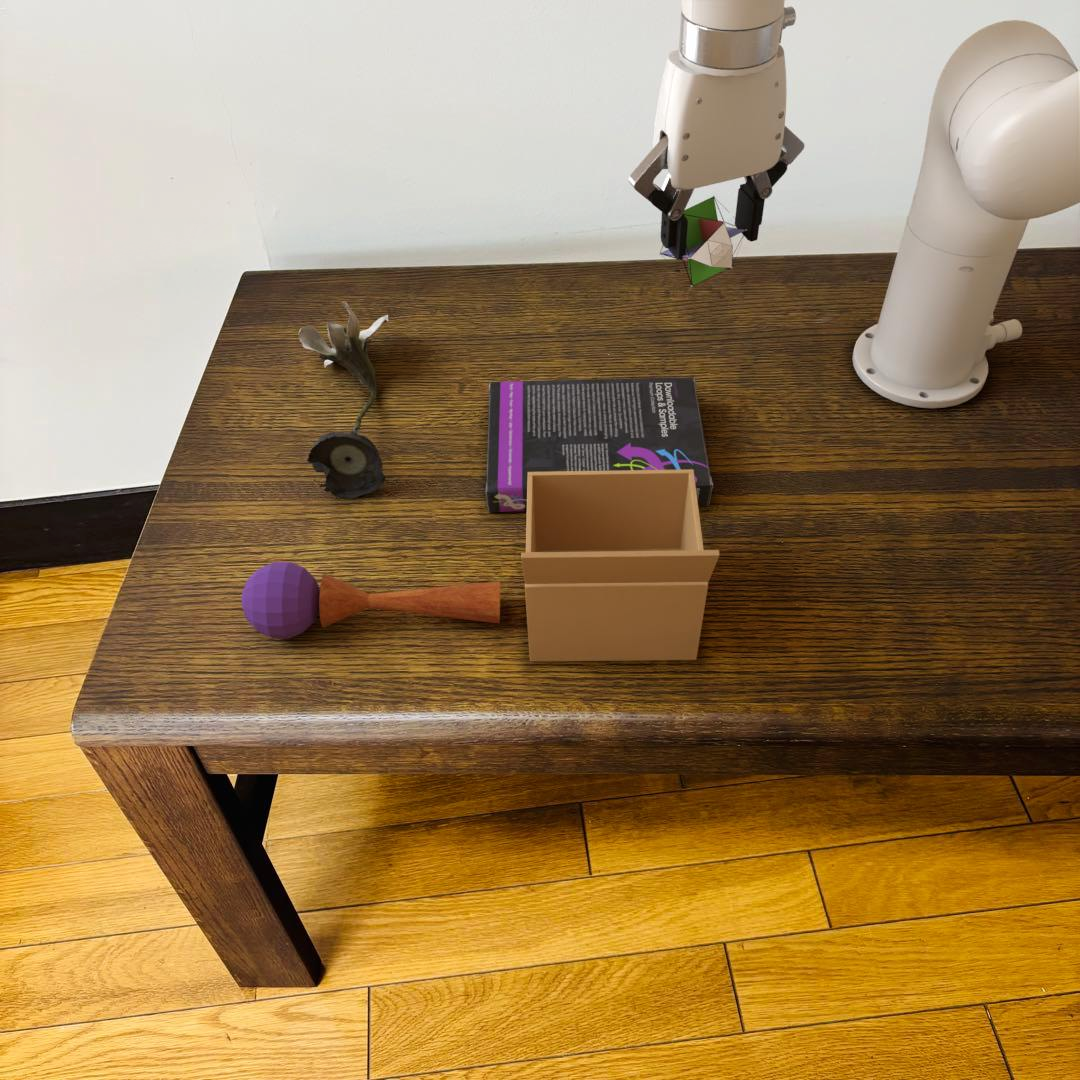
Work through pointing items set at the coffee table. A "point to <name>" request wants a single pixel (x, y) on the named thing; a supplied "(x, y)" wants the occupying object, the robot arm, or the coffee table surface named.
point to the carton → (613, 525)
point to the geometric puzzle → (706, 242)
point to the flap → (618, 566)
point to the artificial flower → (352, 455)
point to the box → (591, 432)
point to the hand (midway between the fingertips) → (710, 240)
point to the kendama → (350, 600)
